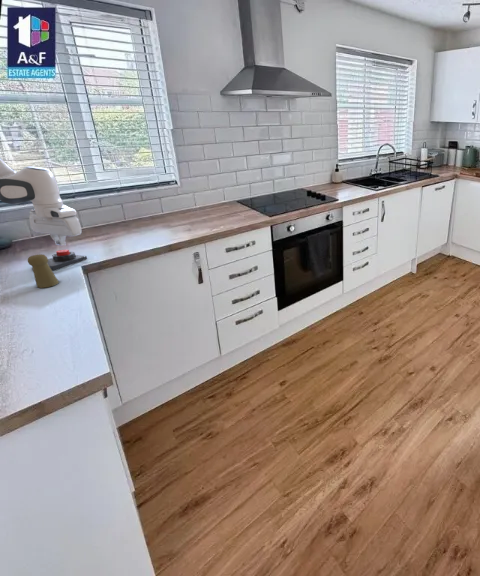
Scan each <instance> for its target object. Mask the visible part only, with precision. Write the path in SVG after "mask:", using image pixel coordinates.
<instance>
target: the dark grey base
mask: <svg viewBox="0 0 480 576" xmlns="http://www.w3.org/2000/svg"><path fill="white" fill-rule="evenodd" d="M69 252H70V254H69V255H64V256H57V253H56V252H55V253H53V254H52V255H51V257H50V258H48V262H47V264H48V265H49V267H50V268H51V270H52V272H55V271H58V270H60V269H64V268H67V267H69V266H72V265H74V264H77V263H80V262H83V261H85V260H87V259H88V257H87V255H80V254H76V252H74V251H69Z"/></svg>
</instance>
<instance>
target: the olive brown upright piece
mask: <svg viewBox="0 0 480 576" xmlns="http://www.w3.org/2000/svg"><path fill="white" fill-rule="evenodd" d="M48 259H49V258H48V256H46V255H45V254H40V253H39V254H34V255H31V256H29V257H27V263H28V265H30V266H31V267H32V271H33V276H34V280H35V284H36V287H37V288H40V289H44V288H50V287H54V286H57V285H58V284H59V283H60V282H59V280H58V278H57V276H56V275H55V273H54V271H52V270H51V268H50V267H49V265H48V264H47V262H48Z"/></svg>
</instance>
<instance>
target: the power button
mask: <svg viewBox="0 0 480 576" xmlns="http://www.w3.org/2000/svg"><path fill="white" fill-rule="evenodd" d="M70 252H71V251H70V249H58V250H56V251H55V254H56V253H57V256H64V255H69V254H70Z"/></svg>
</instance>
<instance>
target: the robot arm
mask: <svg viewBox="0 0 480 576" xmlns="http://www.w3.org/2000/svg"><path fill="white" fill-rule="evenodd" d="M0 202H2V203H5V204H9V205H20V204H23V203H27V202H31V203H32V207H33V208H32V209H30V211H29V224H30V229H31V230H32V232H33V233H34V234H42V235H43V234H44V235H49V236H50V238H51V239H52V240H53V242H54V243H55V245H56V246H62V247H63V246H66V245H67V242H66V239H67V237H77V236H81V235H82V227H81V223H80V220H79V218H78V216H77V215H78V212H77V210H76V209H74V208H71V207H69V206H67V205H66V204H64V201H63V199H62V198H61V195H60V188H59V184H58V182H57V179H56V177H55V174H54V173H53V171H51V170H50V169H48V168H45V167H41V166H24V167H23V168H22V169H20V170H18V171H17V170H15V169H13V168H12V167H11V166H10V165H9V164H8V163H6V162H5V161H4V160H3V159H2V158H1V157H0Z"/></svg>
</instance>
